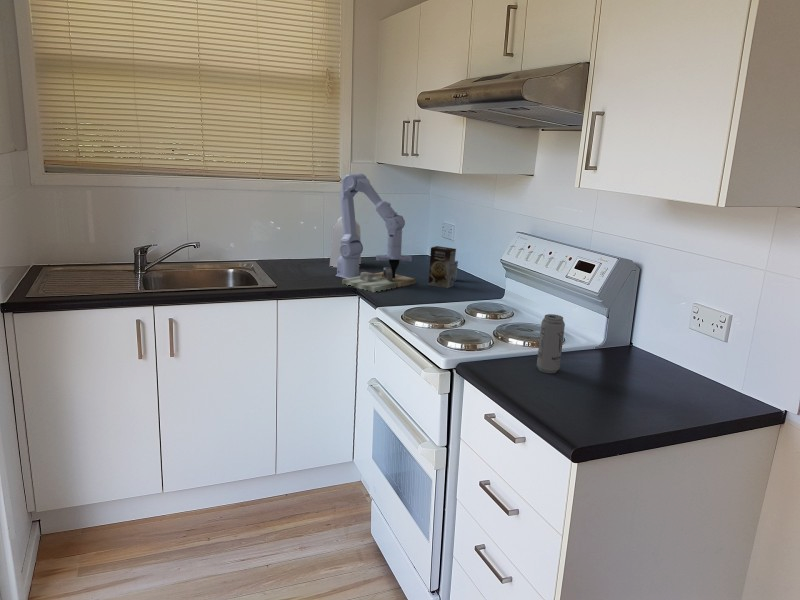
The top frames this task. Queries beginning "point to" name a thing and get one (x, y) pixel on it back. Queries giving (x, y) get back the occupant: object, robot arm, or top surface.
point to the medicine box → (455, 271)
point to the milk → (339, 241)
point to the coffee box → (442, 266)
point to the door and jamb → (377, 281)
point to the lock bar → (387, 273)
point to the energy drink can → (550, 343)
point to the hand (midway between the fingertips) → (393, 277)
